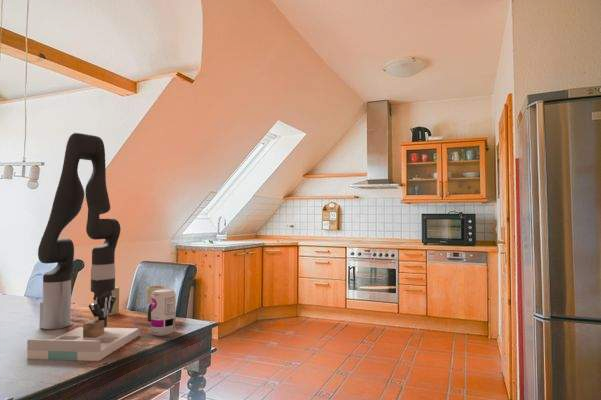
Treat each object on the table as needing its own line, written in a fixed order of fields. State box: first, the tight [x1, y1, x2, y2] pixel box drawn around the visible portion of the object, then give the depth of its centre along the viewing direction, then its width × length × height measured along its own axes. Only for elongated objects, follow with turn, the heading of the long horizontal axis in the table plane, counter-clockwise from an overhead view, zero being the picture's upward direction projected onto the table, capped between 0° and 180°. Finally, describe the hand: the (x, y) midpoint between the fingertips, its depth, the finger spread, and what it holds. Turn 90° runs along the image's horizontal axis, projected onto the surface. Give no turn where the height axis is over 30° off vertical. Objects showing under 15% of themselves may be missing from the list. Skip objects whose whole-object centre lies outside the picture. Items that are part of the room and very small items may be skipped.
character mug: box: [145, 285, 166, 320], centre depth 161 cm, size 11×7×13 cm, turn 43°
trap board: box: [26, 326, 140, 362], centre depth 128 cm, size 22×24×6 cm
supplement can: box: [150, 288, 177, 337], centre depth 143 cm, size 8×8×15 cm
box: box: [108, 286, 120, 316], centre depth 171 cm, size 5×4×11 cm
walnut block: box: [82, 319, 104, 338], centre depth 132 cm, size 4×4×4 cm
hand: (102, 327), depth 136 cm, fingers closed
